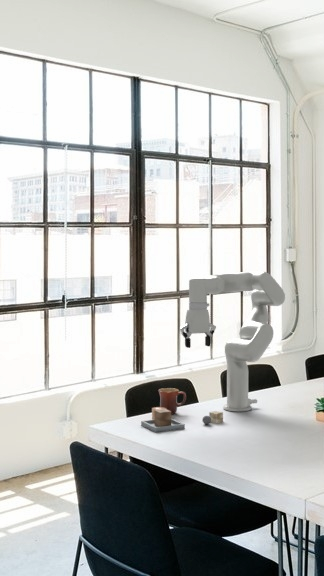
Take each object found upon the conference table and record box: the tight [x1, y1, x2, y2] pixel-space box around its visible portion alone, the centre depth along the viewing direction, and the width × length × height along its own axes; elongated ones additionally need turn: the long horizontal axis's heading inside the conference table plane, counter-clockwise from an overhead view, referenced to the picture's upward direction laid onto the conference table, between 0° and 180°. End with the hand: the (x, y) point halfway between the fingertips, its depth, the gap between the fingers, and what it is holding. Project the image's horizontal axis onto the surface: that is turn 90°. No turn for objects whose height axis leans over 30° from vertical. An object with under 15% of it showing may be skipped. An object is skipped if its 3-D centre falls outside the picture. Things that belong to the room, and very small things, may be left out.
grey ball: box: [202, 415, 212, 426], centre depth 294 cm, size 4×4×4 cm
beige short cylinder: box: [151, 406, 166, 420], centre depth 301 cm, size 6×6×5 cm
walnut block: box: [155, 409, 172, 427], centre depth 290 cm, size 5×5×6 cm
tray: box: [140, 417, 185, 433], centre depth 290 cm, size 13×13×2 cm
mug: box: [158, 387, 187, 415], centre depth 314 cm, size 12×9×10 cm
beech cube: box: [208, 410, 224, 424], centre depth 299 cm, size 4×4×4 cm
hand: (197, 346), depth 305 cm, fingers open, 9 cm apart
